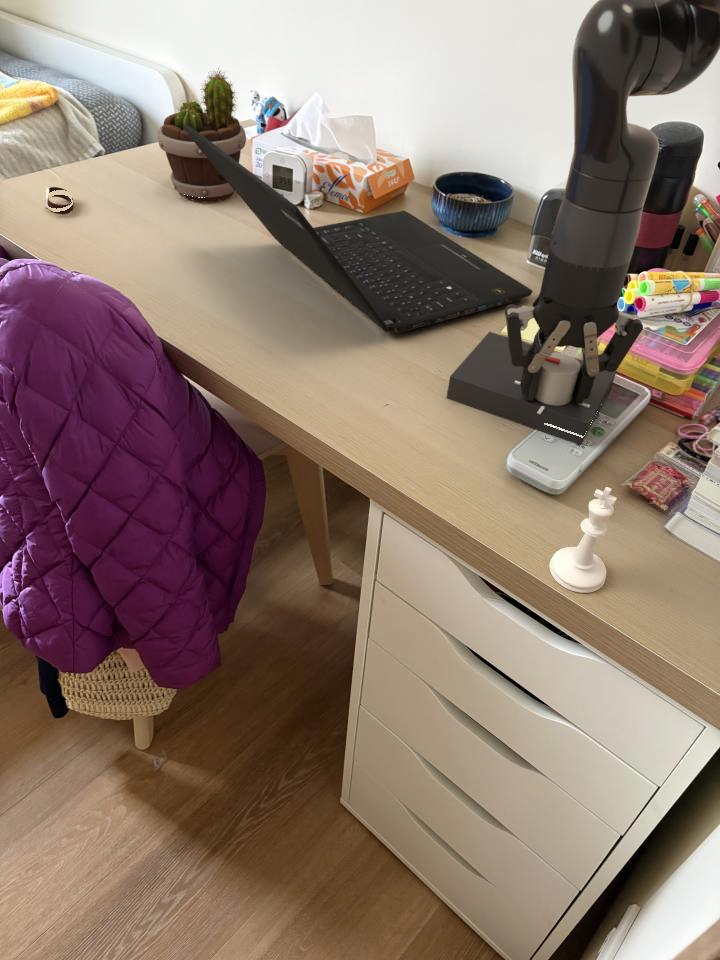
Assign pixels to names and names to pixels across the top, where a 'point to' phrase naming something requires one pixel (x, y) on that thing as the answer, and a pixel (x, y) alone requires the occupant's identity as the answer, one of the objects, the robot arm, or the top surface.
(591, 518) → the chess piece
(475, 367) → the dark grey flat block
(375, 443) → the top surface
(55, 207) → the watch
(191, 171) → the flowerpot
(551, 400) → the knob
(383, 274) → the laptop
